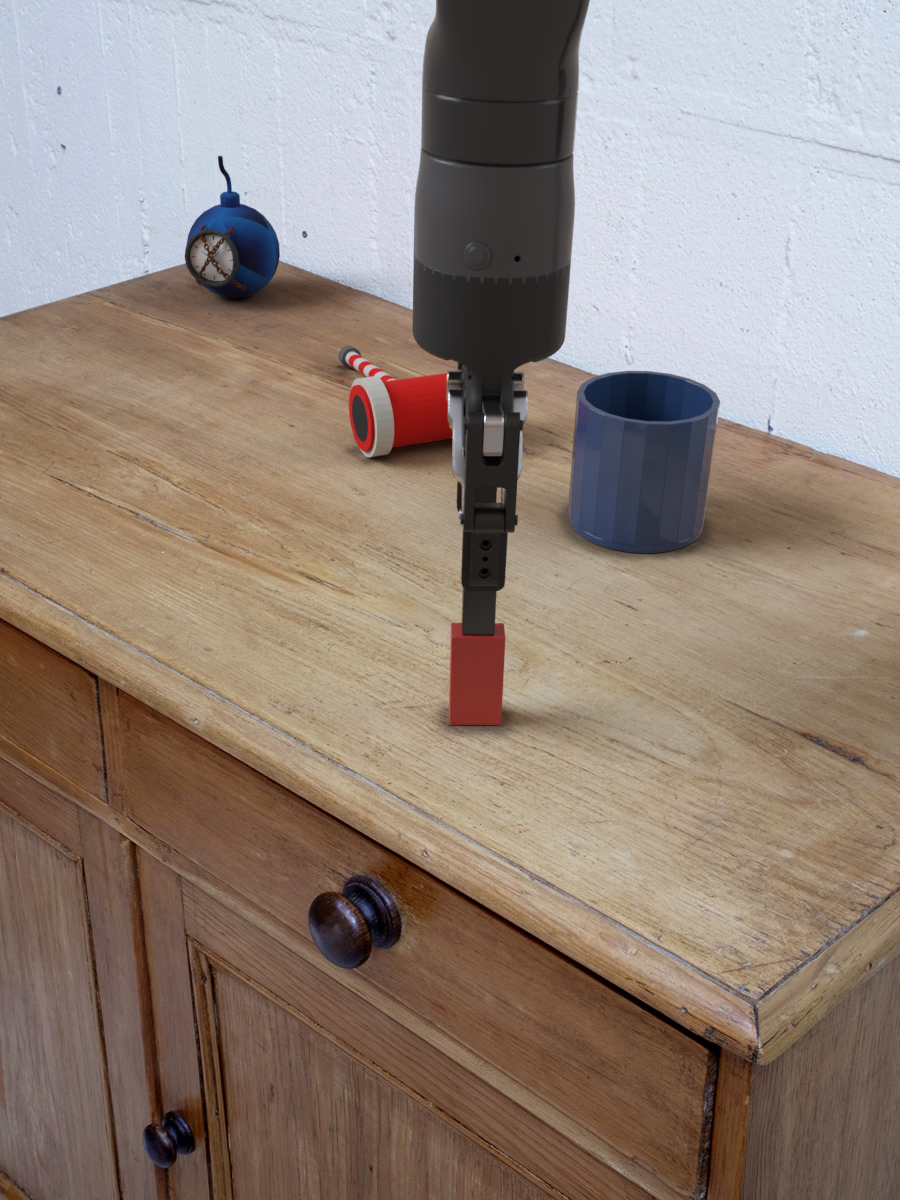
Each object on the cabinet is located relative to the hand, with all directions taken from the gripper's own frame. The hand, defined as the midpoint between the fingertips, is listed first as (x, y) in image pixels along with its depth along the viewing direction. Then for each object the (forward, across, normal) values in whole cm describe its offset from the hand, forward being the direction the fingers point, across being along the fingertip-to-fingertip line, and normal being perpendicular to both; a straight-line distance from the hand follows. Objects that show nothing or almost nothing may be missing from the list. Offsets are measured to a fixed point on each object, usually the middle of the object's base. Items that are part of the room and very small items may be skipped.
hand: (478, 548), depth 71 cm
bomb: (+12, +77, +23) cm, 81 cm away
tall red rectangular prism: (+11, 0, 0) cm, 11 cm away
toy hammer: (+11, +44, +5) cm, 46 cm away
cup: (+11, +25, -13) cm, 30 cm away
